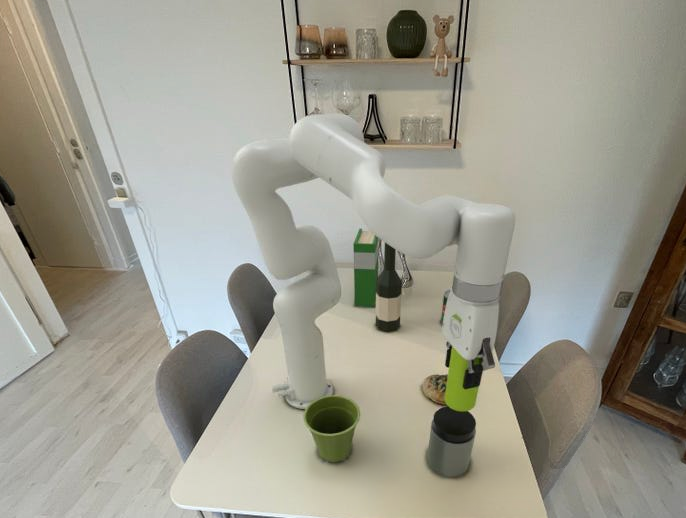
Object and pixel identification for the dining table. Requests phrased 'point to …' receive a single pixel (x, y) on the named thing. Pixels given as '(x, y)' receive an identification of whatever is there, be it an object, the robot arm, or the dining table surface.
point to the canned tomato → (444, 304)
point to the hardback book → (365, 268)
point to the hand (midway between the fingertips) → (461, 375)
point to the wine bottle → (388, 294)
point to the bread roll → (435, 387)
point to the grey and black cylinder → (451, 441)
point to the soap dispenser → (459, 383)
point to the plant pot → (332, 425)
